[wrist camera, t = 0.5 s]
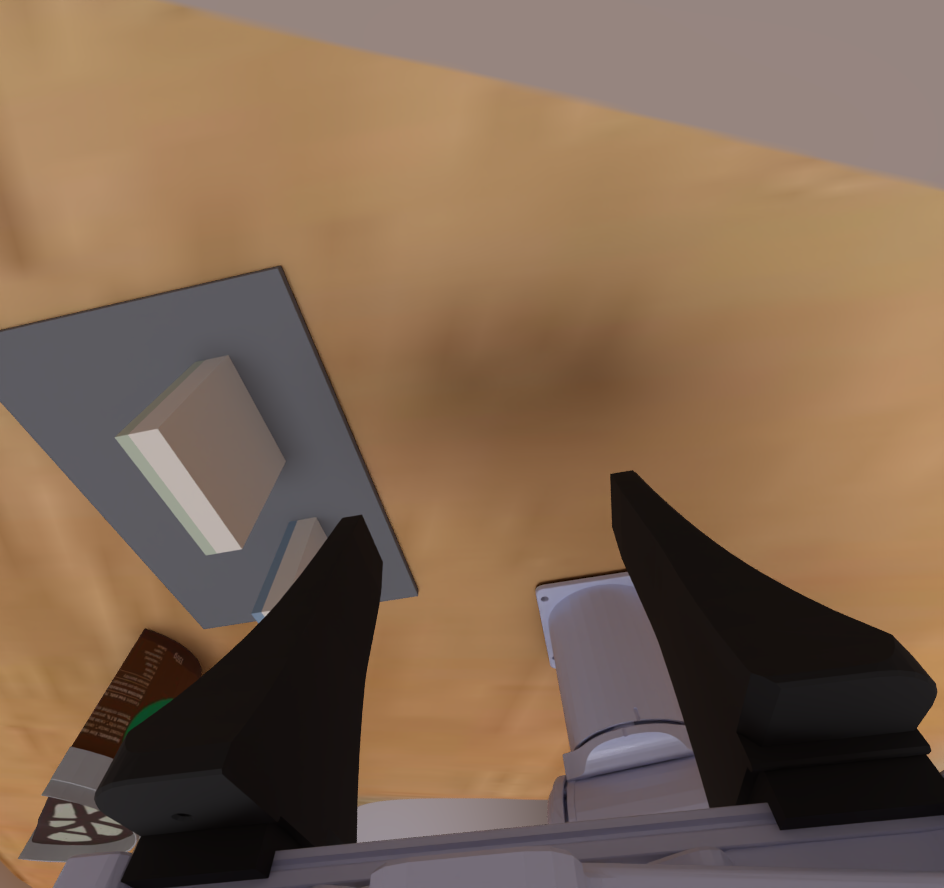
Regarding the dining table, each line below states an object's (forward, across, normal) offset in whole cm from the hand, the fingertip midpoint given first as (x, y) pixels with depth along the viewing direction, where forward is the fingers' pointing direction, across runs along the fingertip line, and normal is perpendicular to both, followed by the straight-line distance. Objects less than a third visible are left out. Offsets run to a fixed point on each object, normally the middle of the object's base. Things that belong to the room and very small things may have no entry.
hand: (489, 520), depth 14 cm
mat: (+10, +14, +4) cm, 18 cm away
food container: (+10, +27, +20) cm, 35 cm away
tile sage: (+10, +11, 0) cm, 15 cm away
